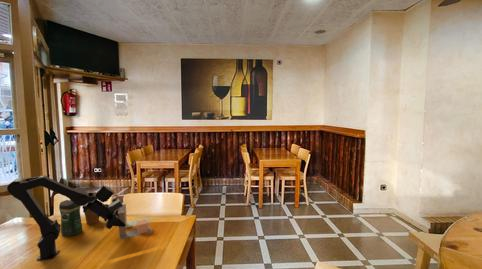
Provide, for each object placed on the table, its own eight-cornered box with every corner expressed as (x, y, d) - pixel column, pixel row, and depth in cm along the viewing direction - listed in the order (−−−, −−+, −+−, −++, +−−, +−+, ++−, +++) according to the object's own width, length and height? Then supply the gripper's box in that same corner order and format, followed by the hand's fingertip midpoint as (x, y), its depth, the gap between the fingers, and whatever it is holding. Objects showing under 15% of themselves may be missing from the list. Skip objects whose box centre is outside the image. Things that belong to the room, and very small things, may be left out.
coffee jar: (85, 230, 138) (83, 198, 137) (73, 237, 131) (70, 203, 129) (70, 228, 140) (68, 197, 138) (58, 235, 132) (55, 202, 131)
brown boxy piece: (120, 241, 126) (118, 215, 124) (119, 235, 132) (117, 210, 130) (152, 233, 134) (151, 208, 132) (150, 228, 140) (149, 204, 138)
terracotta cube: (138, 234, 131) (137, 225, 131) (137, 230, 135) (136, 221, 135) (148, 231, 134) (147, 223, 133) (146, 228, 138) (146, 219, 137)
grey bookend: (121, 230, 138) (120, 206, 136) (120, 225, 144) (119, 202, 142) (151, 223, 146) (150, 200, 144) (148, 219, 152) (148, 197, 150)
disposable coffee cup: (79, 224, 145) (78, 205, 144) (93, 218, 154) (92, 199, 153) (92, 226, 142) (90, 207, 141) (105, 220, 151) (104, 201, 150)
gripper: (112, 201, 117) (138, 218, 124) (110, 190, 133) (133, 206, 140) (94, 221, 114) (122, 237, 121) (95, 207, 130) (119, 222, 137)
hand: (124, 224), depth 130 cm, fingers closed on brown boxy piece, 3 cm apart
